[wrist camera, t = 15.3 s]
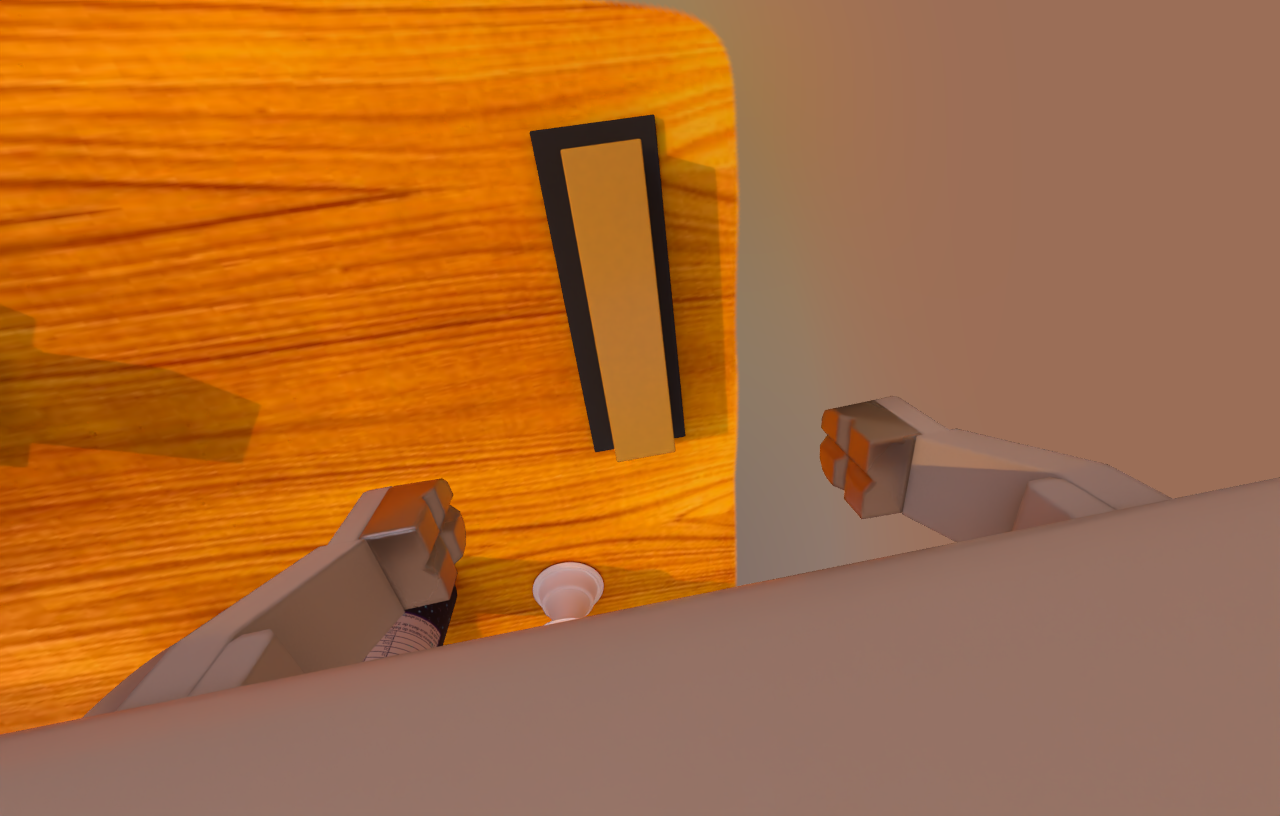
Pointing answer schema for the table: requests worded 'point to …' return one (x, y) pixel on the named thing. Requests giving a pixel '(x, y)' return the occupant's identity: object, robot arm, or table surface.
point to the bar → (622, 292)
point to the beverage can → (416, 630)
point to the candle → (567, 591)
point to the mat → (569, 264)
